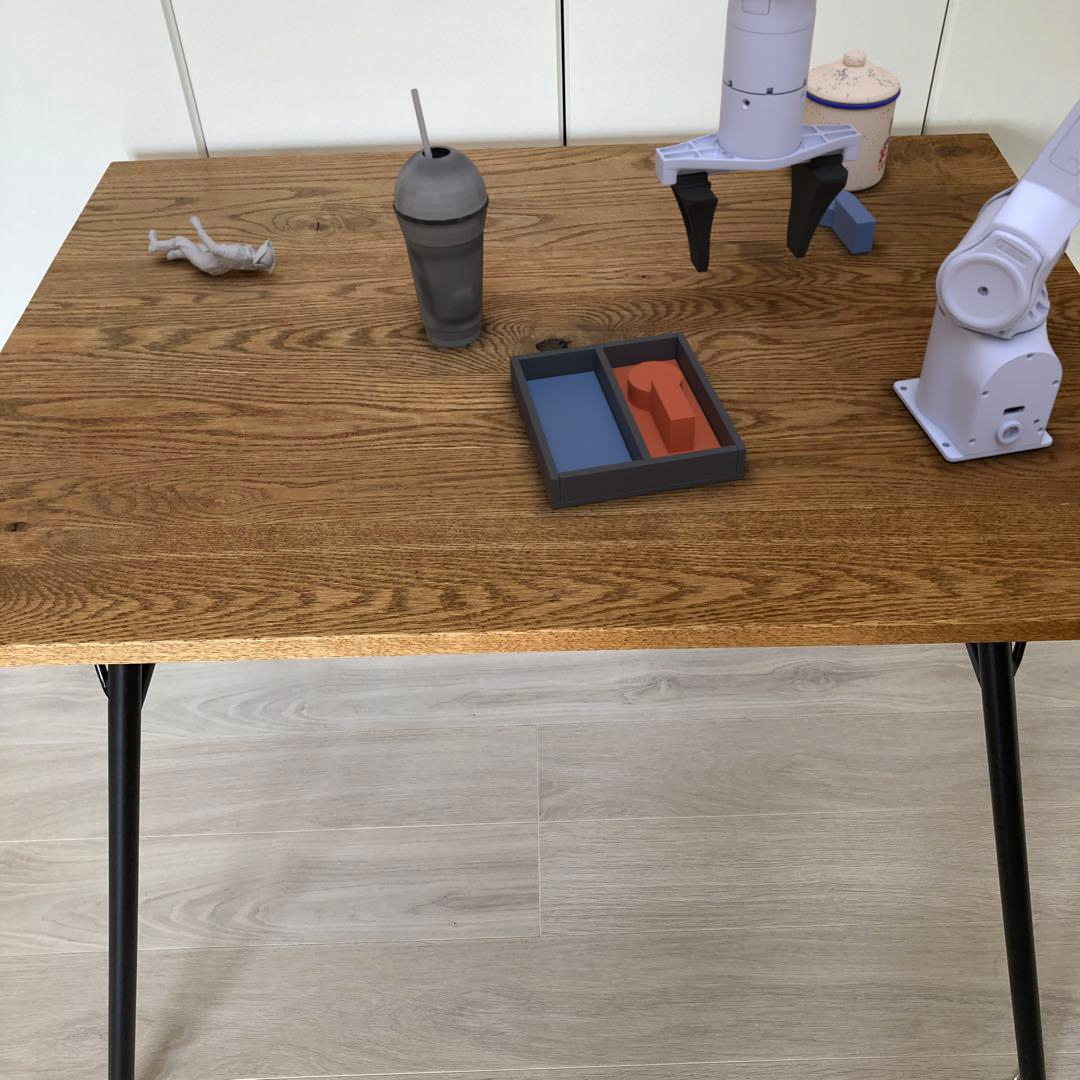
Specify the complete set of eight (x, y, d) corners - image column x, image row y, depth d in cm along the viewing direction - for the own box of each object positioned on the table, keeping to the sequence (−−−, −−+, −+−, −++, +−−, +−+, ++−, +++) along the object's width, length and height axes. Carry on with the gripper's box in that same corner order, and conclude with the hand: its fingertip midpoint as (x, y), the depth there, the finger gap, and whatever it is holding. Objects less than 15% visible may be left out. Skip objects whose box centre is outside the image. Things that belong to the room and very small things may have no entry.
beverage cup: (486, 361, 94) (467, 114, 80) (398, 353, 95) (365, 108, 81) (506, 312, 99) (492, 72, 85) (422, 305, 100) (395, 68, 86)
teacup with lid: (899, 190, 112) (921, 67, 105) (805, 198, 112) (821, 75, 104) (858, 137, 121) (876, 20, 113) (771, 145, 121) (784, 27, 113)
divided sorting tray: (743, 479, 82) (746, 448, 80) (552, 509, 80) (551, 479, 78) (680, 360, 93) (682, 331, 91) (511, 385, 91) (509, 355, 89)
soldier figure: (197, 250, 110) (300, 228, 105) (195, 300, 110) (299, 281, 104) (134, 222, 103) (241, 197, 98) (132, 276, 103) (239, 254, 97)
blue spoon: (883, 250, 104) (889, 219, 102) (840, 256, 104) (845, 225, 102) (844, 204, 111) (848, 174, 109) (803, 209, 110) (807, 179, 108)
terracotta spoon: (708, 447, 84) (711, 413, 81) (653, 456, 83) (655, 422, 81) (672, 377, 90) (674, 343, 88) (621, 384, 89) (622, 351, 87)
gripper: (842, 45, 84) (817, 221, 93) (645, 69, 82) (640, 246, 91) (884, 83, 79) (854, 265, 88) (675, 109, 77) (666, 292, 86)
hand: (747, 258), depth 89 cm, fingers open, 7 cm apart
